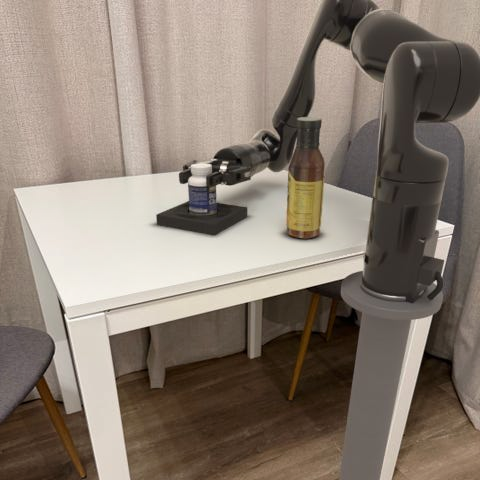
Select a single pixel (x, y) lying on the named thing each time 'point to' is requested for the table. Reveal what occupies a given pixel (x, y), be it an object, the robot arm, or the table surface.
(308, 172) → the sauce bottle
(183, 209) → the dock pad
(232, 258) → the table surface
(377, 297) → the robot arm
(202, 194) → the pill bottle
